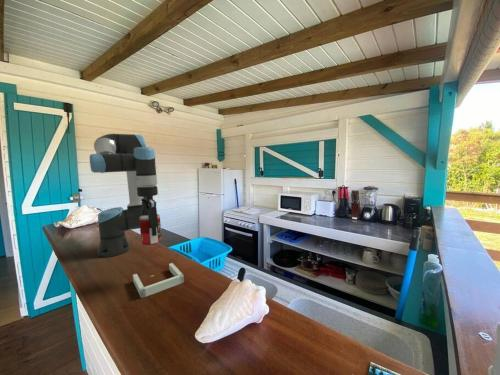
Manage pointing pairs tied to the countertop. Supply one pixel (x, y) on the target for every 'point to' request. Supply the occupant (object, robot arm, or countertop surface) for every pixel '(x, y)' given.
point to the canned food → (146, 232)
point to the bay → (160, 285)
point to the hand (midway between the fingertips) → (151, 240)
